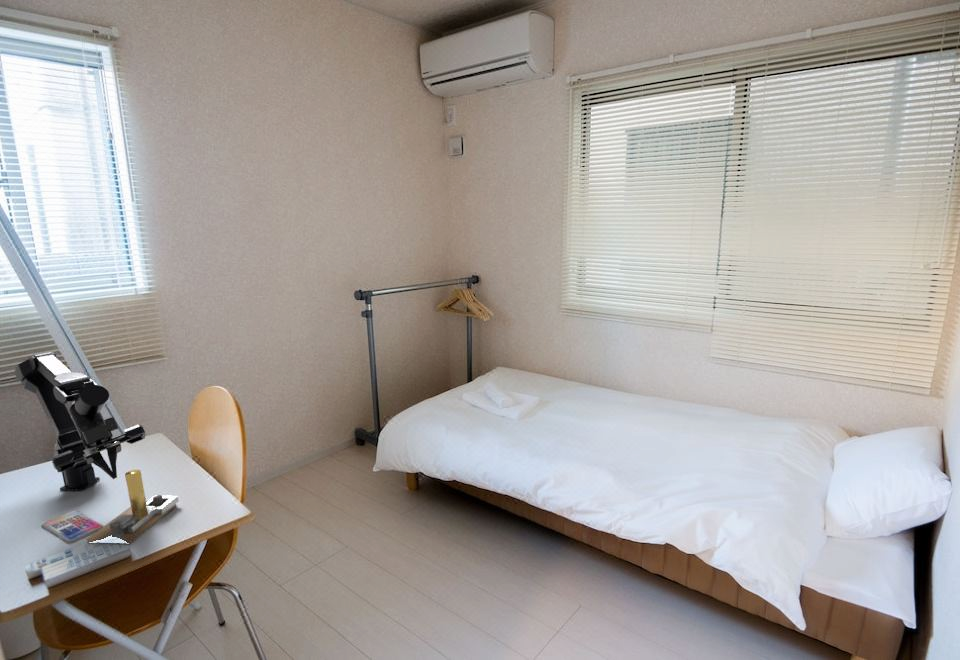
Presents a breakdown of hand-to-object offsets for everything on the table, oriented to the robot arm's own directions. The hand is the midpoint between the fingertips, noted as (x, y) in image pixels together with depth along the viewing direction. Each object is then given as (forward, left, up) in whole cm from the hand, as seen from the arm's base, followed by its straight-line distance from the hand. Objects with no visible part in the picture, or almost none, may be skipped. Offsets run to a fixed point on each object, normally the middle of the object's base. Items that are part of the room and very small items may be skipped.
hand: (115, 478), depth 128 cm
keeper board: (+7, -5, -9) cm, 13 cm away
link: (+10, -4, -8) cm, 13 cm away
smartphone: (-7, -7, -9) cm, 13 cm away
